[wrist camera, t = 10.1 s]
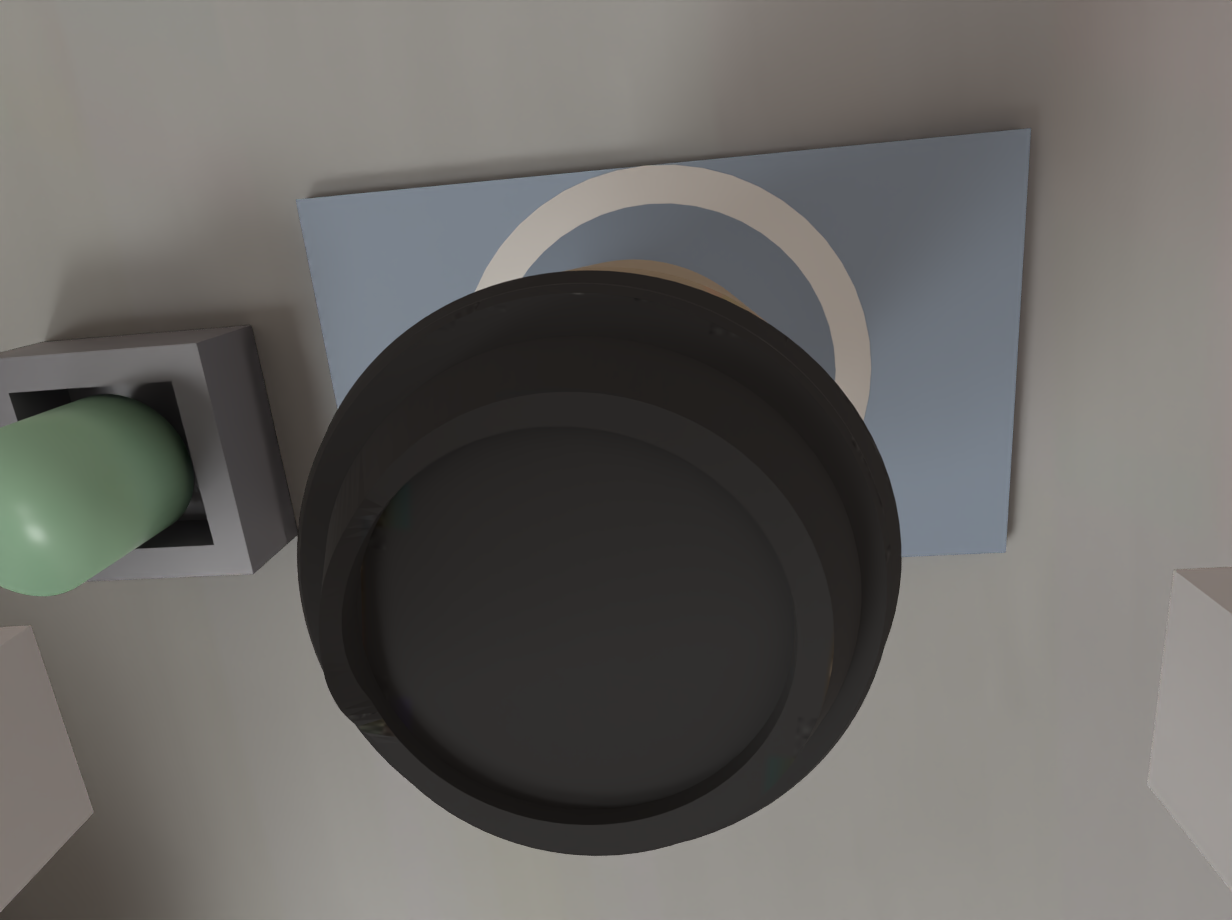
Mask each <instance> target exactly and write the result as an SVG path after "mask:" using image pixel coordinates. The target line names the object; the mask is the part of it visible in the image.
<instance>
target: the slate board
mask: <svg viewBox="0 0 1232 920" xmlns="http://www.w3.org/2000/svg"><path fill="white" fill-rule="evenodd" d="M1030 138H1031V128H1027V129H1017V130H1006V131H996V132H986V133H975V134H965V135H955V136H945V137H934V138H924V139H914V140H903V141H893V142H883V143H873V144H862V145H852V146H842V147H831V148H821V149H811V150H801V151H790V152H780V153H770V154H759V155H749V156H739V157H729V158H718V159H708V160H698V161H687V162H677V163H667V164H657V165H646V166H636V167H626V168H615V169H605V170H595V171H584V172H574V173H564V174H554V175H543V176H533V177H523V178H512V179H502V180H492V181H482V182H471V183H461V184H451V185H440V186H430V187H420V188H410V189H399V190H389V191H379V192H368V193H358V194H348V195H338V196H327V197H317V198H307V199H296V203H297V208H298V213H299V218H300V223H301V228H302V233H303V238H304V243H305V248H306V253H307V258H308V263H309V268H310V273H311V278H312V283H313V288H314V293H315V298H316V303H317V309H318V314H319V319H320V324H321V329H322V334H323V339H324V344H325V349H326V354H327V359H328V364H329V369H330V374H331V379H332V384H333V389H334V394H335V399H336V404H337V409H338V408H339V406H340V405H341V403H342V401H343V400H344V398H345V396H346V395H347V393H348V392H349V390H350V389H351V387H352V386H353V385H354V383H355V382H356V381H357V379H358V378H359V377H360V375H361V374H362V373H363V372H364V371H365V369H366V368H367V367H368V366H369V365H370V364H371V363H372V361H373V360H374V359H375V358H376V357H377V356H378V355H379V354H380V353H381V352H382V351H383V350H384V349H385V348H386V347H387V346H389V345H390V344H391V343H392V342H393V341H394V340H395V339H396V338H398V337H399V336H400V335H401V334H403V333H404V332H405V331H406V330H408V329H409V328H410V327H412V326H413V325H414V324H416V323H417V322H419V321H420V320H422V319H423V318H425V317H426V316H428V315H430V314H431V313H433V312H435V311H436V310H438V309H440V308H442V307H444V306H445V305H447V304H449V303H451V302H453V301H455V300H457V299H459V298H462V297H464V296H466V295H468V294H471V293H473V292H476V291H478V290H481V289H484V288H487V287H490V286H493V285H496V284H499V283H502V282H506V281H510V280H514V279H518V278H522V277H527V276H533V275H538V274H545V273H552V272H561V271H566V270H571V269H575V268H580V267H585V266H589V265H594V264H599V263H603V262H609V261H616V260H632V259H636V260H652V261H658V262H664V263H669V264H673V265H677V266H680V267H683V268H686V269H689V270H691V271H694V272H696V273H698V274H701V275H703V276H704V277H706V278H708V279H710V280H712V281H714V282H715V283H717V284H718V285H720V286H722V287H723V288H724V289H726V290H727V291H728V292H730V293H731V294H732V295H734V296H735V297H736V298H737V299H739V300H740V301H741V302H742V303H744V304H745V305H746V306H747V307H749V308H750V309H751V310H752V311H754V312H755V313H756V314H757V315H759V316H760V317H761V318H762V319H764V320H765V321H766V322H767V323H769V324H770V325H772V326H773V327H775V328H776V329H778V330H779V331H780V332H782V333H783V334H785V335H786V336H787V337H789V338H790V339H791V340H792V341H794V342H795V343H796V344H797V345H799V346H800V347H801V348H802V349H803V350H804V351H806V352H807V353H808V354H809V355H810V356H811V357H812V358H813V359H814V360H815V361H816V362H817V363H818V364H819V365H820V366H821V367H822V368H823V369H824V370H825V371H826V372H827V373H828V374H829V375H830V377H831V378H832V379H833V380H834V381H835V382H836V383H837V384H838V385H839V387H840V388H841V389H842V391H843V392H844V393H845V395H846V396H847V397H848V399H849V400H850V401H851V403H852V404H853V405H854V407H855V408H856V410H857V412H858V413H859V415H860V416H861V418H862V419H863V421H864V423H865V425H866V426H867V428H868V430H869V432H870V433H871V435H872V437H873V439H874V442H875V444H876V446H877V448H878V450H879V452H880V454H881V457H882V459H883V462H884V465H885V467H886V470H887V473H888V476H889V478H890V482H891V486H892V489H893V493H894V497H895V501H896V506H897V512H898V517H899V523H900V534H901V557H911V556H934V555H958V554H981V553H1004V552H1006V540H1007V523H1008V506H1009V489H1010V473H1011V456H1012V439H1013V422H1014V406H1015V389H1016V372H1017V355H1018V339H1019V322H1020V305H1021V288H1022V272H1023V255H1024V238H1025V221H1026V205H1027V188H1028V171H1029V154H1030Z"/></svg>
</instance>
